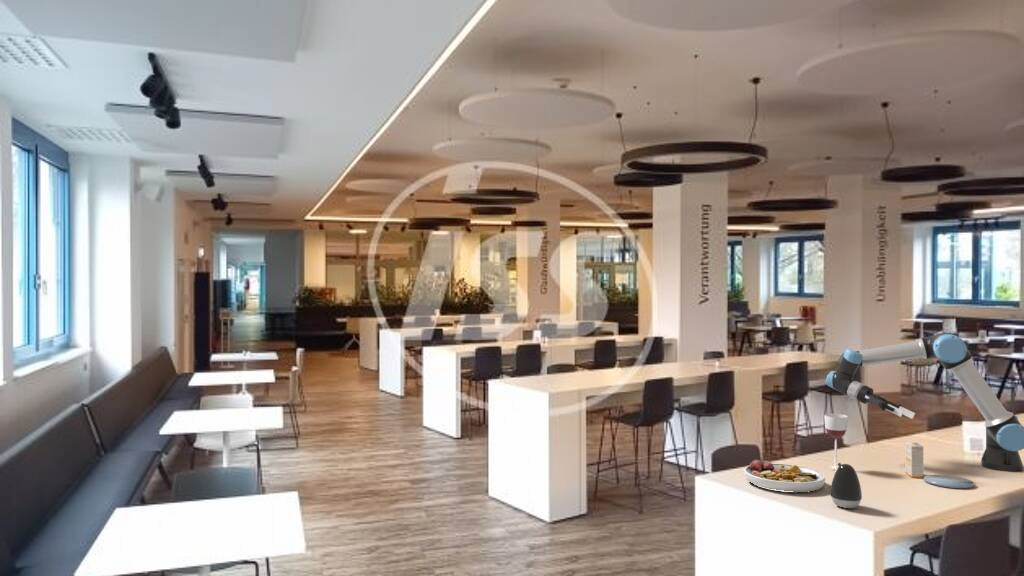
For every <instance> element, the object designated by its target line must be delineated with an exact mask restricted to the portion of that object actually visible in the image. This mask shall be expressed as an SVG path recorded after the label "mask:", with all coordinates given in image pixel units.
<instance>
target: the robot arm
mask: <svg viewBox="0 0 1024 576" xmlns="http://www.w3.org/2000/svg"><path fill="white" fill-rule="evenodd" d="M973 357H974V356H973V355H972V354H971V352H970V351H969V350H968V347H967V344H966V343H965V341H964V340H963V339H962V338H961V337H959V336H958V335H955V334H951V333H946V332H945V333H939V334H938V333H937V334H935V335H932V336H931V335H930V336H926V337H921V338H919V339H918V340H916V341H912V342H911V341H910V342H905V343H898V344H891V345H885V346H878V347H873V348H867V349H861V350H852V349H850V348H847V349H846V350H845V352H842V353H841V355H840V356H839V359H838V361H839V364H838V366H837V369H836V370H831V371H830V372H829V373H828V374H827V375H826V379H825V384H826V385H827V386H828V387H829V388H832V389H833V390H835V391H837V392H839V393H841V394H844V395H846V396H848V397H849V399H851V400H852V399H854V400H857V401H858V402H860V403H862V404H866V405H867V404H868V403H870V404H873V405H875V406H876V407H879V408H880V409H881V410H882V411H883V412H885V410H886V411H887V412H889V413H892V414H894V415H895V416H898V417H900V418H902V416H903V415H904V416H905V417H907V418H909V419H912V420H914V417H915V416H916V412H914V411H911V410H909V409H907V408H906V407H903V406H902V404H901V403H899V404H898V403H895V402H892V401H890V400H887V399H886V398H884V397H881V396H880V395H879V394H874V388H872V387H869V386H867V385H865V384H863V383H861V382H859V381H857V380H854V377H855V374H856V373H857V370H858V368H861V367H863V368H864V367H869V366H875V365H881V364H889V363H896V362H902V361H909V360H915V359H925V360H930V359H931V360H932V359H937V360H938V361H939V362H940V364H941V365H942V367H943V368H944V370H945V371H948V372H951V374H953V375H954V377H955V378H956V380H957V381H958V383H959V385H961V387H962V388H963V390H964V391H965V393H966V394H967V395H968V397H969V398H970V400H971V402H972V403H973V404H974V406H975V407H976V408H977V409H978V411H979V412H980V413H981V415H982V416H983V418H984V420H985V424H984V426H985V449H984V452H983V454H982V456H981V458H980V459H981V461H980V465H981V466H983V467H984V468H988V469H991V470H997V471H1004V470H1005V471H1007V472H1020V470H1021V471H1023V470H1024V464H1023V461H1022V459H1021V456H1020V452H1019V451H1022V450H1024V426H1023V424H1022V423H1021V422H1020V421H1019V416H1017V415H1015V414H1014V412H1012V411H1011V412H1010V411H1008V410H1006V408H1005V407H1004V406H1003V404H1002V403H1001V401H1000V399H998V397H997V396H996V394H995V393H994V392H993V390H992V389H991V387H990V386H989V384H988V383H987V382H986V380H985V378H984V377H983V376H982V375H981V373H980V372H979V370H978V369H977V368H976V366H975V364H974V363H973V362H972V361H973Z"/></svg>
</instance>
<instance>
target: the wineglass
mask: <svg viewBox="0 0 1024 576" xmlns="http://www.w3.org/2000/svg"><path fill="white" fill-rule="evenodd" d="M823 419H824V427H825V428H824V429H825V431H826V433H827V434H828V435H829V436H830V437H832V438H833V439H834V466H831V467H832V468H835V469H836V468H838V467H839V466H838V439H841V438H842V437H843V436H844V435H846V432H847V428H848V423H849V422H848V419H849V416H848V415H847V414H846V415H845V414H843V413H841V414H840V413H825V414H824V417H823Z"/></svg>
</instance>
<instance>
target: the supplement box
mask: <svg viewBox="0 0 1024 576" xmlns="http://www.w3.org/2000/svg"><path fill="white" fill-rule="evenodd" d="M904 455H905V457H904V473H905V474H906V475H908V476H909V477H910V478H913V479H914V478H915V479H924V446H923V445H921V444H920V443H917V442H907V441H906V442H904Z"/></svg>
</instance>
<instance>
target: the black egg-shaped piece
mask: <svg viewBox="0 0 1024 576" xmlns="http://www.w3.org/2000/svg"><path fill="white" fill-rule="evenodd" d="M837 467H838V468H837V470H836V471H834V475H833V478H832V481H831V484H830V485H831V486H830V490H829V491H830V492H829V493H830V494H829V495H830V496H831V500H832V502H833V504H834V505H835V506H837V507H838V506H840V507H839V508H841V507H845V508H853V509H855V507H856V508H857V507H858V506H859V505H860V504H861V501H862V499H863V494H862V487H861V483H860V480H859V476H858V473H857V472H856V470H855V468H854V467H853V466H852V465H851V464H848V463H843V464H842V463H841V462H837ZM845 508H844V509H845Z"/></svg>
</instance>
